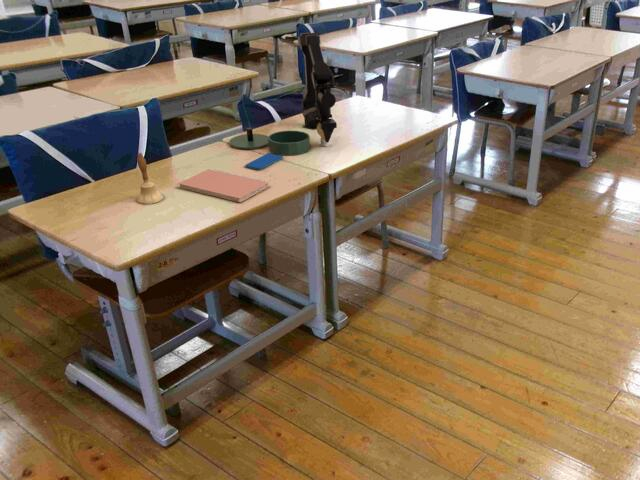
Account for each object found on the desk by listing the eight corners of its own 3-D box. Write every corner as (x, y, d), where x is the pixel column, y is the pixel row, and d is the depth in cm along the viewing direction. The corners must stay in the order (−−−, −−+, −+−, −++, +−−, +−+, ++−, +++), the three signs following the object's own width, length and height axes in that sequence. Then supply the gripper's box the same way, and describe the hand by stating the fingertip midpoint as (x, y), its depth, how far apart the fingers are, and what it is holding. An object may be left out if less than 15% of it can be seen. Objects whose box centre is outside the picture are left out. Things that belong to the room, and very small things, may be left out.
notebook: (271, 186, 224) (270, 180, 223) (240, 203, 211) (239, 197, 210) (211, 172, 234) (210, 167, 233) (178, 187, 222) (177, 182, 220)
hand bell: (148, 206, 208) (138, 159, 200) (132, 200, 212) (121, 154, 203) (168, 197, 214) (159, 152, 206) (152, 192, 218) (142, 147, 209)
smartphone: (244, 165, 239) (268, 152, 250) (244, 167, 239) (269, 154, 250) (259, 168, 236) (283, 155, 247) (260, 171, 236) (284, 158, 248)
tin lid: (227, 138, 267) (225, 124, 264) (268, 135, 272) (267, 120, 269) (231, 152, 254) (229, 136, 250) (275, 148, 258) (273, 133, 255)
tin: (266, 144, 262) (265, 132, 259) (305, 140, 266) (304, 129, 264) (272, 157, 249) (271, 145, 246) (313, 153, 253) (312, 141, 251)
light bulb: (315, 144, 263) (314, 120, 258) (330, 142, 265) (329, 118, 260) (320, 148, 258) (318, 124, 253) (335, 147, 260) (334, 123, 255)
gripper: (298, 96, 257) (301, 134, 265) (307, 109, 242) (310, 148, 250) (325, 94, 260) (327, 132, 268) (336, 106, 245) (337, 146, 254)
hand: (325, 139), depth 260 cm, fingers open, 7 cm apart
